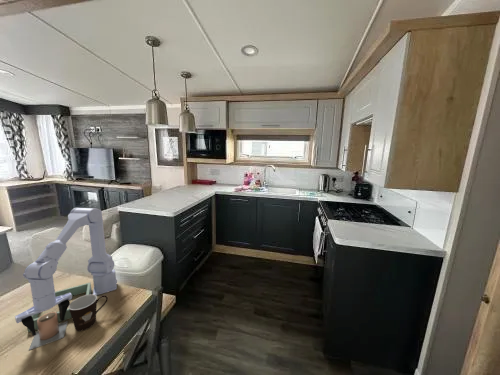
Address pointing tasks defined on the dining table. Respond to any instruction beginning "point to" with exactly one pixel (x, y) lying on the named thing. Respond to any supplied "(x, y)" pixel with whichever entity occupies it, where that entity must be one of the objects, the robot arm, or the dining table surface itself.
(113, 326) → the dining table surface
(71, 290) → the green square frame
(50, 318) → the pink plant pot
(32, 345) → the slate mat
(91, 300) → the coffee mug
